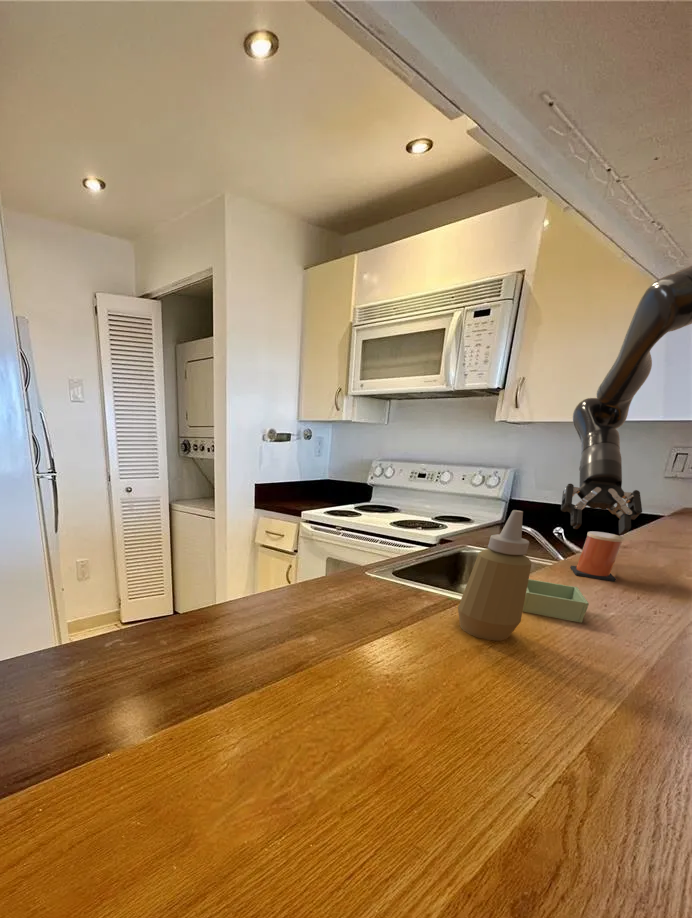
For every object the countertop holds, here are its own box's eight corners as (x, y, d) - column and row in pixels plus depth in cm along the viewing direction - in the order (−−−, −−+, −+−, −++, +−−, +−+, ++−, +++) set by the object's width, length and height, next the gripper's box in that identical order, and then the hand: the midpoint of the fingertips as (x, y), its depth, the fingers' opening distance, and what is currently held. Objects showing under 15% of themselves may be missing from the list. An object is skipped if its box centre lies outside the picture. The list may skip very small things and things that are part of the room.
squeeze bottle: (454, 642, 65) (488, 512, 58) (449, 620, 72) (479, 502, 66) (519, 654, 63) (562, 521, 56) (507, 630, 70) (544, 509, 63)
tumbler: (605, 570, 102) (619, 534, 99) (613, 578, 97) (628, 540, 94) (572, 565, 104) (584, 529, 101) (578, 572, 99) (591, 535, 96)
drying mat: (607, 573, 102) (608, 571, 102) (615, 581, 97) (616, 579, 97) (570, 567, 105) (571, 565, 104) (575, 575, 99) (576, 572, 99)
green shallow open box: (569, 609, 80) (577, 587, 78) (580, 628, 73) (589, 603, 71) (514, 599, 83) (520, 577, 81) (519, 616, 76) (526, 592, 74)
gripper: (571, 454, 105) (570, 515, 99) (647, 461, 101) (650, 524, 95) (557, 476, 112) (555, 534, 106) (628, 483, 108) (629, 543, 102)
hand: (600, 529), depth 100 cm, fingers open, 8 cm apart
